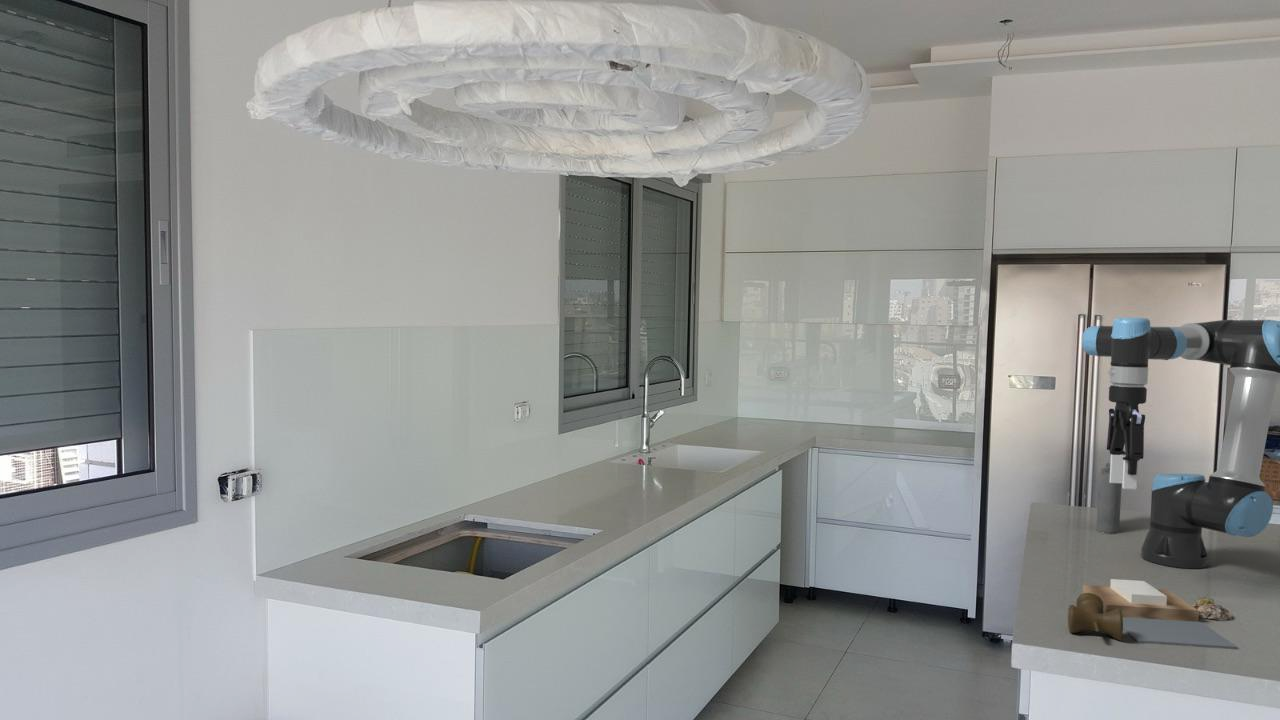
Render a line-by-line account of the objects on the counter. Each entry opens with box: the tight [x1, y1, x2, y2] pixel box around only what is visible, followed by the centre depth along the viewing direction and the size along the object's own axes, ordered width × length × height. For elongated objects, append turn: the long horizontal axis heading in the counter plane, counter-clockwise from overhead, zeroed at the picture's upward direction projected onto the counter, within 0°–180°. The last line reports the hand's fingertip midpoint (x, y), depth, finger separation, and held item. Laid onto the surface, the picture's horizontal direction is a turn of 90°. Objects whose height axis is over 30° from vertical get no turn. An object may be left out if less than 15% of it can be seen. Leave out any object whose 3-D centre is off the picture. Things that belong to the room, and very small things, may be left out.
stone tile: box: [1109, 578, 1167, 606], centre depth 192 cm, size 7×11×2 cm, turn 173°
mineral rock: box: [1191, 596, 1234, 622], centre depth 189 cm, size 11×4×8 cm
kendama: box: [1067, 593, 1124, 641], centre depth 178 cm, size 6×10×20 cm
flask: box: [1096, 462, 1123, 534], centre depth 266 cm, size 15×6×20 cm, turn 150°
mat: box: [1123, 617, 1238, 650], centre depth 177 cm, size 18×14×1 cm
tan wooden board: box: [1082, 584, 1200, 622], centre depth 191 cm, size 18×14×2 cm
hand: (1122, 485), depth 201 cm, fingers open, 6 cm apart
